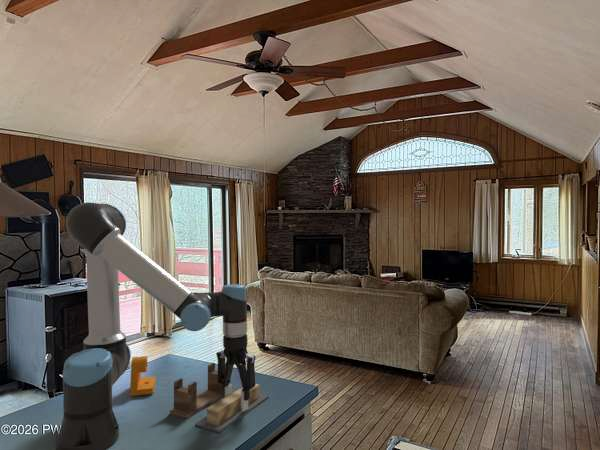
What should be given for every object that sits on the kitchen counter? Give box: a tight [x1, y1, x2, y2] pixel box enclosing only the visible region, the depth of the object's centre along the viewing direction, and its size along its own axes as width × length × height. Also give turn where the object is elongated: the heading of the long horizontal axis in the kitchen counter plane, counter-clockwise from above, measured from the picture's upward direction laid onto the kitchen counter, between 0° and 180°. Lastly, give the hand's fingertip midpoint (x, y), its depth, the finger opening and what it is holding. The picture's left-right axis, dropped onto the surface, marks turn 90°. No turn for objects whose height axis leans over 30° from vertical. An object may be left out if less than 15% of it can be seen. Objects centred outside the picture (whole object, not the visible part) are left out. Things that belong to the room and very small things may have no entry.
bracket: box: [169, 362, 226, 419], centre depth 134 cm, size 22×7×10 cm, turn 153°
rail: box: [206, 383, 261, 426], centre depth 128 cm, size 22×4×4 cm, turn 152°
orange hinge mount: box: [129, 355, 157, 397], centre depth 143 cm, size 11×7×12 cm, turn 15°
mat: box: [194, 393, 270, 434], centre depth 128 cm, size 26×9×1 cm, turn 152°
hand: (236, 407), depth 128 cm, fingers open, 5 cm apart
